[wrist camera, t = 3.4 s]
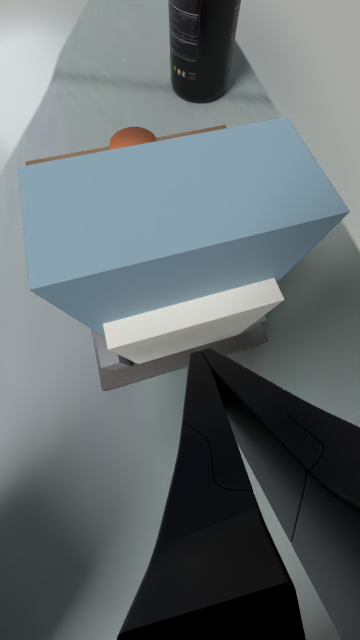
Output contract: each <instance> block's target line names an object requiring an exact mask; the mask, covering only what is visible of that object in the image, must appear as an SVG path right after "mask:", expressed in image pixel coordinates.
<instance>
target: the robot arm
mask: <svg viewBox="0 0 360 640" xmlns="http://www.w3.org/2000/svg"><path fill="white" fill-rule="evenodd" d="M235 439H236V440H235ZM236 441H237V443H238V445H239V447H240V449H241V450H242V452H243V454H244V456H245V458H246V460H247V462H248V464H249V465H250V467H251V469H252V471H253V473H254V475H255V477H256V479H257V481H258V482H259V484H260V486H261V488H262V490H263V492H264V494H265V496H266V497H267V499H268V501H269V503H270V505H271V507H272V509H273V511H274V512H275V514H276V516H277V518H278V520H279V522H280V524H281V526H282V528H283V529H284V531H285V533H286V535H287V537H288V539H289V541H290V542H291V543H292V547H293V548H294V550H295V552H296V554H297V556H298V558H299V560H300V562H301V563H302V565H303V567H304V569H305V571H306V573H307V575H308V577H309V578H310V580H311V582H312V584H313V586H314V588H315V590H316V592H317V594H318V595H319V597H320V599H321V601H322V603H323V605H324V607H325V609H326V610H327V612H328V614H329V616H330V618H331V620H332V622H333V624H334V626H335V627H336V629H337V631H338V633H339V635H340V637H341V639H342V640H360V427H358V426H356V425H354V424H352V423H349V422H347V421H345V420H343V419H341V418H339V417H336V416H334V415H332V414H330V413H328V412H326V411H324V410H322V409H320V408H318V407H316V406H314V405H312V404H310V403H308V402H306V401H304V400H302V399H301V398H299V397H297V396H295V395H293V394H291V393H290V392H288V391H286V390H283V389H282V388H281V387H279V386H277V385H275V384H274V383H272V382H270V381H268V380H266V379H265V378H263V377H261V376H259V375H258V374H256V373H254V372H252V371H251V370H249V369H247V368H245V367H243V366H242V365H240V364H238V363H236V362H235V361H233V360H231V359H229V358H228V357H226V356H224V355H222V354H220V353H219V352H217V351H215V350H213V349H212V348H205V349H202V350H200V351H195V352H192V353H190V357H189V366H188V375H187V384H186V393H185V401H184V410H183V419H182V427H181V435H180V442H179V449H178V454H177V459H176V464H175V469H174V473H173V477H172V481H171V485H170V490H169V494H168V498H167V502H166V506H165V510H164V514H163V518H162V522H161V526H160V530H159V534H158V538H157V541H156V544H155V548H154V551H153V554H152V557H151V560H150V563H149V565H148V568H147V571H146V573H145V576H144V578H143V580H142V582H141V584H140V587H139V589H138V591H137V594H136V596H135V598H134V600H133V603H132V605H131V607H130V609H129V612H128V614H127V616H126V618H125V621H124V623H123V625H122V627H121V630H120V632H119V634H118V637H117V640H306V638H305V634H304V629H303V624H302V619H301V614H300V609H299V604H298V599H297V595H296V590H295V587H294V585H293V582H292V580H291V578H290V576H289V574H288V572H287V569H286V567H285V565H284V563H283V561H282V559H281V557H280V554H279V552H278V550H277V548H276V546H275V544H274V542H273V539H272V537H271V535H270V533H269V531H268V529H267V526H266V524H265V522H264V519H263V516H262V514H261V511H260V509H259V506H258V503H257V501H256V498H255V495H254V493H253V489H252V486H251V483H250V480H249V477H248V474H247V472H246V469H245V466H244V463H243V460H242V457H241V454H240V451H239V448H238V445H237V443H236Z"/></svg>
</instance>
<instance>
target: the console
mask: <svg viewBox="0 0 360 640" xmlns="http://www.w3.org/2000/svg"><path fill="white" fill-rule="evenodd" d="M225 128H226V126H225V125H223V126H217V127H212V128H207V129H201V130H196V131H190V132H185V133H179V134H174V135H169V136H163V137H158V138H156V137H155V135H154V134H153V133H152V132H150V131H149V130H147V129H144V128H140V127H128V128H124V129H122V130H120V131H118V132H117V133H115V134H114V135H113V136H112V138H111V140H110V146H109V147H103V148H98V149H93V150H87V151H82V152H76V153H71V154H65V155H60V156H55V157H49V158H44V159H38V160H33V161H27V162H26V165H32V164H37V163H42V162H48V161H53V160H59V159H64V158H69V157H75V156H80V155H85V154H91V153H96V152H102V151H107V150H112V149H118V148H123V147H129V146H134V145H139V144H145V143H150V142H155V141H161V140H166V139H172V138H177V137H182V136H188V135H193V134H198V133H204V132H209V131H215V130H220V129H225ZM264 321H266V317H265V315H264V316H262V317H261V318H260V319H258V320H257V321H256V322H254V323H253V324H252V325H251V326H249V327H248V328H247V329H245V330H244V331H243V332H241V333H240V334H239V335H236V336H232V337H229V338H225V339H222V340H219V341H215V342H212V343H208V344H205V345H202V346H198V347H195V348H191V349H188V350H185V351H181V352H178V353H174V354H171V355H168V356H164V357H161V358H157V359H154V360H151V361H147V362H144V363H140V364H137V363H135V362H133V361H131V360H129V359H127V358H125V357H122V356H120V355H118V354H116V353H114V352H112V351H110V350H108V348H107V343H106V338H105V337H104V336H102V335H101V334H99V333H97V332H96V331H94V330H93V329H92V335H93V340H94V346H95V351H96V357H97V363H98V368H99V374H100V380H101V385H102V391H108V390H111V389H115V388H118V387H121V386H125V385H128V384H131V383H135V382H138V381H141V380H145V379H148V378H151V377H154V376H158V375H161V374H164V373H168V372H171V371H174V370H178V369H181V368H184V367H188V366H189V357H190V353H192V352H195V351H200V350H202V349H205V348H212V349H213V350H215V351H217V352H219V353H220V354H222V355H227V354H231V353H234V352H237V351H240V350H244V349H247V348H250V347H254V346H257V345H260V344H263V343H265V342H268V338H267V336H266V334H265V331H264V329H263V327H262V324H261V323H263V322H264Z"/></svg>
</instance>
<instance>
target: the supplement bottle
mask: <svg viewBox="0 0 360 640" xmlns="http://www.w3.org/2000/svg"><path fill="white" fill-rule="evenodd" d="M240 4H241V0H169V34H170V67H171V83H172V87H173V89H174V91H175V93H176V94H177V95H178V96H179V97H181V98H182V99H184V100H187V101H190V102H196V103H204V102H209V101H212V100H215V99H217V98H218V97H219V96H221V95H222V93H223V92H224V91H225V89H226V86H227V83H228V77H229V71H230V66H231V59H232V53H233V47H234V41H235V34H236V28H237V22H238V16H239V10H240Z"/></svg>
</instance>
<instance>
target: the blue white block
mask: <svg viewBox="0 0 360 640" xmlns="http://www.w3.org/2000/svg"><path fill="white" fill-rule="evenodd" d="M18 176H19V187H20V198H21V208H22V219H23V230H24V240H25V251H26V261H27V272H28V283H29V290H30V291H32V292H33V293H35V294H37V295H38V296H40V297H41V298H43V299H45V300H46V301H48V302H49V303H51V304H53V305H54V306H56V307H57V308H59V309H61V310H62V311H64V312H65V313H67V314H69V315H70V316H72V317H73V318H75V319H77V320H78V321H80V322H81V323H83V324H85V325H86V326H88V327H89V328H91V329H93V330H94V331H96V332H97V333H99V334H101V335H102V336H104V337H105V338H106V343H107V348H108V350H110V351H112V352H114V353H116V354H118V355H120V356H122V357H125V358H127V359H129V360H131V361H133V362H135V363H137V364H140V363H144V362H147V361H151V360H154V359H157V358H161V357H164V356H168V355H171V354H174V353H178V352H181V351H185V350H188V349H191V348H195V347H198V346H202V345H205V344H208V343H212V342H215V341H219V340H222V339H225V338H229V337H232V336H236V335H239V334H240V333H241V332H243V331H244V330H245V329H247V328H248V327H249V326H251V325H252V324H253V323H254V322H256V321H257V320H258V319H260V318H261V317H262V316H264V315H265V314H266V313H268V312H269V311H270V310H272V309H273V308H274V307H276V306H277V305H278V304H280V303H281V302H282V301H284V297H283V295H282V293H281V291H280V289H279V287H278V285H277V282H279V281H280V280H281V279H282V278H283V277H284V276H285V275H286V274H287V273H288V272H289V271H290V270H291V269H292V268H293V267H294V266H295V265H296V264H297V263H298V262H299V261H300V260H301V259H302V258H303V257H304V256H305V255H306V254H307V253H308V252H309V251H310V250H311V249H312V248H313V247H314V246H315V245H316V244H317V243H318V242H319V241H320V240H321V239H322V238H323V237H324V236H325V235H327V234H328V233H329V232H330V231H331V230H332V229H333V228H334V227H335V226H336V225H337V224H338V223H339V222H340V221H341V220H342V219H343V218H344V217H345V216H346V215H347V214H348V213H349V212H350V211H349V209H348V208H347V206H346V205H345V203H344V202H343V200H342V199H341V197H340V196H339V194H338V193H337V191H336V190H335V188H334V187H333V185H332V184H331V182H330V180H329V179H328V177H327V176H326V174H325V173H324V172H323V170H322V168H321V167H320V165H319V164H318V163H317V161H316V159H315V158H314V156H313V155H312V153H311V152H310V150H309V149H308V147H307V145H306V144H305V142H304V141H303V140H302V138H301V137H300V135H299V133H298V132H297V131H296V129H295V127H294V126H293V124H292V123H291V121H290V120H289V119H288V117H285V118H279V119H274V120H268V121H263V122H258V123H252V124H247V125H241V126H236V127H231V128H225V129H220V130H215V131H209V132H204V133H198V134H193V135H188V136H182V137H177V138H172V139H166V140H161V141H155V142H150V143H145V144H139V145H134V146H129V147H123V148H118V149H112V150H107V151H102V152H96V153H91V154H85V155H80V156H75V157H69V158H64V159H59V160H53V161H48V162H42V163H37V164H32V165H26V166H21V167H18Z"/></svg>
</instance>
